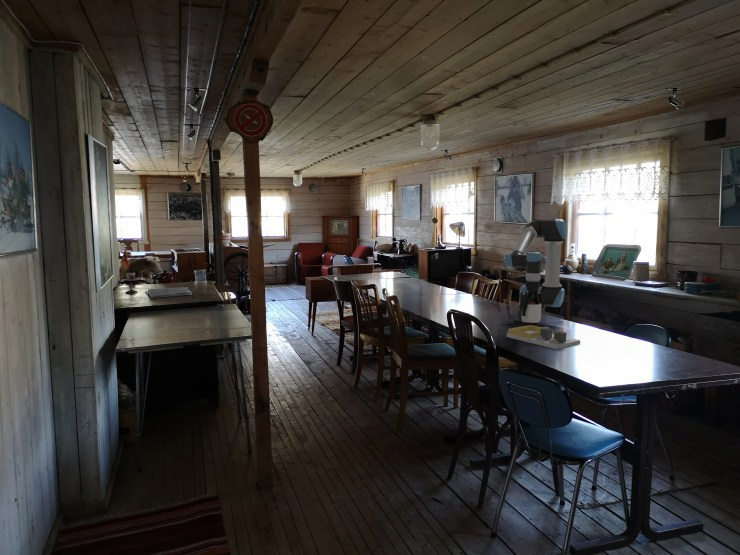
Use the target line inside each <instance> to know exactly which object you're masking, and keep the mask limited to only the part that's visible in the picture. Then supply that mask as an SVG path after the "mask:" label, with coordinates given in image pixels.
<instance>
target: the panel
mask: <svg viewBox="0 0 740 555" xmlns="http://www.w3.org/2000/svg"><path fill="white" fill-rule="evenodd" d="M542 328H543V327H542V326H536V325H532V324H531V325H524V326H518V327H512V328H508V330H507V333H506V337H507V338H509V339H514V340H517V341H522V342H525V343H528V344H529V343H530V344H534V345H537V346H543V347H545V348H549V349H553V350H557V349H564V348H569V347H572V346H577V345H581V340H580V339H576V338H573V337H568V336H566V342H564V343H559V341H556V339H554V329H552V339H548V340H546V339H545V338H542V336H540V329H542Z"/></svg>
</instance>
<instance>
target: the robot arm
mask: <svg viewBox="0 0 740 555" xmlns="http://www.w3.org/2000/svg"><path fill="white" fill-rule="evenodd" d="M567 237H568V228H567V223H566V221H565V220H564V219H559V218H536V219H534V220H532V221H530V222H528V223H526V225H525V226H524V227H523V228H522V230H521V231H520V237H519V239H518V241H517V243H516V245H514V249H513V250H512V252H511V253H506V254H505V256H504V260H503V261H504V265H505V267H508V268H525V280H526V281H525V284H523V285H522V286H520V288H519V296H518V298H519V302H518V310H517V313H516V316H515V321H516V322H518V323H519V322H520V323H525V324H530V323H529V322H527V311H528V310H527V307H528V304H529V302H535V304H537V305H538V304H539V303H541V310H543V308H544V307H552V308H560V307H561V306H562V305H563V302H564V298H565V288H563V285H562V284H561V283H560V278H561V277H560V276H561V255H562V254H561V251H562V250H561V249H562V244H563V243H564V242H565V241H564V240H566V239H567ZM538 238H539V239H543V242H544V243H545V255H543V254H542V252H540V251H529V249H530V247H531V245H532V244H533V241H535V240H536V239H538ZM542 268H545V269H544V282H543V283H542V284H541V270H542ZM540 322H541V320H540ZM537 323H539V322H537Z"/></svg>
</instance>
